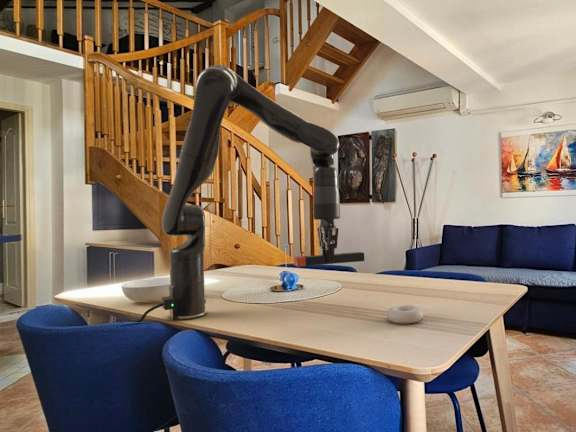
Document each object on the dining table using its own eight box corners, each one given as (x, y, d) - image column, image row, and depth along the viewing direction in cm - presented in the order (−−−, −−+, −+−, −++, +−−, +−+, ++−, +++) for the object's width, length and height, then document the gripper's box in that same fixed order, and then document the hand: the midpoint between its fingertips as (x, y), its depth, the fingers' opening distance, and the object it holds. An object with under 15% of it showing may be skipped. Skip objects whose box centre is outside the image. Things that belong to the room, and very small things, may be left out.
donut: (418, 326, 108) (426, 316, 118) (417, 313, 108) (426, 304, 118) (381, 324, 112) (393, 314, 121) (381, 311, 111) (392, 302, 121)
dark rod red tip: (360, 259, 126) (359, 251, 126) (365, 261, 122) (364, 252, 122) (294, 265, 118) (293, 256, 118) (297, 266, 114) (296, 257, 114)
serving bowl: (149, 294, 161) (149, 276, 161) (200, 294, 158) (200, 276, 158) (106, 306, 140) (106, 286, 140) (164, 307, 137) (163, 286, 137)
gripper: (346, 201, 115) (348, 264, 115) (332, 203, 128) (334, 259, 128) (320, 202, 112) (322, 266, 112) (307, 203, 125) (309, 261, 125)
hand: (328, 262), depth 120 cm, fingers closed on dark rod red tip, 3 cm apart
